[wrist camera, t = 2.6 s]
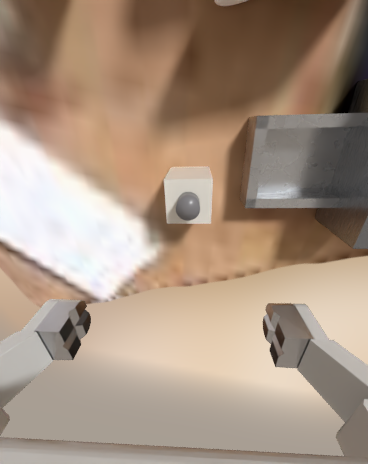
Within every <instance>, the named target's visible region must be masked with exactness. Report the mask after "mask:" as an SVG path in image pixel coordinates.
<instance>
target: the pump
mask: <svg viewBox="0 0 368 464" xmlns="http://www.w3.org/2000/svg"><path fill="white" fill-rule="evenodd" d="M212 187H213V178H212V175H211V172H210V168H209V166H199V167H171V168H170V170H169V172H168V173H167V175H166V177H165V178H164V190H165V204H166V217H167V224H211V210H212Z"/></svg>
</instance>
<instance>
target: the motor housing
mask: <svg viewBox="0 0 368 464" xmlns="http://www.w3.org/2000/svg"><path fill="white" fill-rule="evenodd" d="M240 200H241V202H242V203H243V205H244V207H245V208H318V209H317V212H316V215H315V219H316V220H317V221H318V222H320V223H321V224H322V225H324V226H325V227H326V228H327V229H329V230H330V231H331V232H332V233H334V234H335V235H336V236H338V237H339V238H340V239H341V240H343V241H344V242H345V243H346V244H348V245H349V246H350V247H352V248H353V249H368V79H366V80H362V81H358V82H357V85H356V88H355V91H354V95H353V98H352V101H351V104H350V107H349V110H348V113H340V114H306V115H273V116H254V117H249V123H248V132H247V140H246V149H245V158H244V167H243V176H242V184H241V193H240Z"/></svg>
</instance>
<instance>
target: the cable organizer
mask: <svg viewBox="0 0 368 464" xmlns="http://www.w3.org/2000/svg"><path fill="white" fill-rule="evenodd" d="M245 1H248V0H214V2H215V3H216V4H217V5H219V6H230V5H235V4H239V3H242V2H245Z"/></svg>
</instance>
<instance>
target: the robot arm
mask: <svg viewBox="0 0 368 464" xmlns="http://www.w3.org/2000/svg"><path fill="white" fill-rule="evenodd" d="M86 307H87V305H86V303H85V301H82V300H62V299H61V300H59V299H50V300H48V301H46V302H45V304H44V305H43V306H42V307H41V308H40V310H39V311H38V312H37V313H36V314H35V315H34V316H33V318H32V319H31V320H30V321H29V322H28V323H27V325H26V326H25V327H24V328H23V329H22V330H21V332H15V333H14V334H12V335H11V336H9V337H7V338H6V339H4V340H2V341H1V342H0V435H1V433H2V432H3V430H4V429H5V427H6V425H7V424H8V422H9V420H10V419H9V415H8V414H7V413H6V412H5V411H4V410H3V409H2V408H3V407H4V406H5V405H6V404H7V403H8V402H9V401H10V400H12V399H13V398H14V397H15V396H16V395H17V394H18V393H19V392H20V391H21V390H22V389H23V388H25V387H26V386H27V385H28V384H29V383H30V382H31V381H32V380H33V379H34V378H35V377H36V376H38V375H39V374H40V373H41V372H42V371H43V370H44V369H45V368H46V367H47V366H48V365H49V364H51V362H53V360H73V359H74V357H75V355H76V353H77V351H78V349H79V347H80V346H81V341H80V339H81V338H83V337H84V336H85V335H86V334H87V332H88V330H89V327H90V323H91V317H90V314H89V312H87V311H86V310H85V308H86ZM266 312H267V315H265V316H264V319H263V330H264V335H265V338H266V340H267V341H268V342H269V343H270V344H271V347H270V352H271V356H272V358H273V361H274V364H275V367H286V368H298V371H299V372H300V373H301V374H302V375H303V376H304V377H305V378H306V380H307V381H308V382H309V383H310V384H311V385H312V386H313V387H314V388H315V390H317V392H318V393H319V394H320V395H321V396H322V397H323V399H324V400H325V401H326V402H327V403H328V404H329V405H330V406H331V407H332V409H334V411H335V412H336V413H337V414H338V415H339V416H340V417H341V419H342V420H343V421H344V422H345V424H344V425H343V426H342V427H341V428H340V430H339V431H338V432H337V435H336V439H337V441H338V443H339V445H340V447H341V450H342V452H343V454H344V456H330V455H312V454H294V453H276V452H258V451H240V450H222V449H204V448H186V447H168V446H149V445H132V444H114V443H97V442H79V441H59V440H42V439H24V438H5V437H0V464H368V365H366V364H365V363H364V362H363V361H361V360H360V359H359V358H357V357H356V356H354V355H353V354H352V353H350V352H349V351H348V350H346V349H345V348H343V347H342V346H341V345H339V344H338V343H337V342H335V341H334V340H329V339H328V337H327V336H326V334H325V333H324V331H323V329H322V328H321V326H320V325H319V323H318V322H317V320H316V319H315V317H314V315H313V314H312V312H311V311H310V309H309V308H308V306H307V305H306V304H274V303H269V304H268V305H267V306H266Z"/></svg>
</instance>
